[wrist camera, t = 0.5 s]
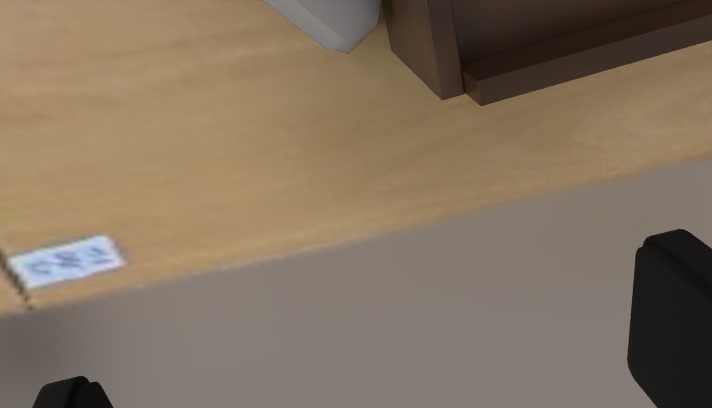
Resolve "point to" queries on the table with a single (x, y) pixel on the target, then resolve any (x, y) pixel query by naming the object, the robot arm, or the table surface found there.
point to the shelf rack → (534, 40)
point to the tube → (331, 20)
